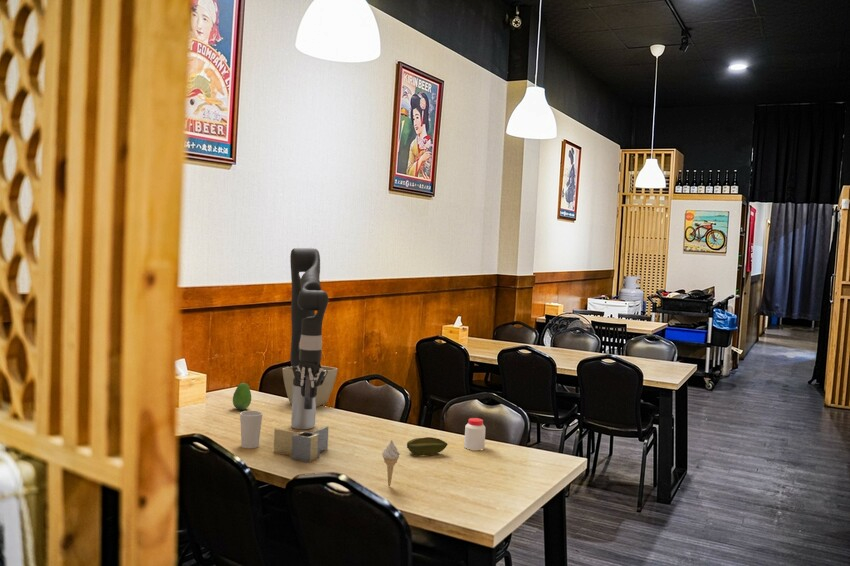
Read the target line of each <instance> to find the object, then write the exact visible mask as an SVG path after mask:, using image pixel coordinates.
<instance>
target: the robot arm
mask: <svg viewBox="0 0 850 566" xmlns="http://www.w3.org/2000/svg"><path fill="white" fill-rule="evenodd" d="M289 257H290V258H289V259H290V260H289V262H290V275H291V276H290V277H291V278H290V279H291V298H290V299H291V300H290V301H291V302H290V303H291V304H290V308H291V309H290V310H291V311H290V315H291V316H290V320H291V340H290V357H289V358H290V367H291V366H292V370H293V373H294V376H295V378H294V379H293V396H292V404H291V422H290V424H291V426H290V427H291V428H292V429H297V430H310V429H313V428H315V426H316V412H317V410H316V409H317V407H316V402H315V397H316V395H317V387H318V386H320V385H322V384H323V382H324V379H325V377H326V375H327V373H328V371H327V370H323V369H322V368H321V366H322V365H321V362H322V351H323V350H322V349H323V338H322V337H323V336H322V332H323V331H322V330H323V329H322V328H323V320H324V317H325V313H326V310H327V308H328V304H329V300H330V299H329V295H328V293H327V291H326V290H322V286H321V281H320V275H321V256H320V251H319V250H318V249H317V248H314V247H295V248H292V250H291V251H290V256H289ZM300 273H303V274H302V275H300ZM300 370H301V372H302V374H301V372H300ZM318 373H319V378H318ZM305 374H306V375H309V377H310V381H311V395H310V397H311V398H313V407H312V409H304V391H305ZM313 377H314V378H313Z"/></svg>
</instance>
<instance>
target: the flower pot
mask: <svg viewBox="0 0 850 566" xmlns="http://www.w3.org/2000/svg"><path fill="white" fill-rule="evenodd" d="M321 368H322V369H323V370H327V371H328V373H327V375H326V377H325V379H324V382H323V384H322V385H320V386H318V387H317V395H316V397H315V402H316V408H317V407H320V406H323V405H326V404H327V403H328V401H329V398H330V396H331V393H332V391H333V388H334V386H335V385H334V384H335V382H336V378H337V375H338V368H337V367H331V366H325V365H321ZM300 372H301V370H300ZM301 374H302V372H301ZM282 378H283V383H284V388H285V392H286V395H287V399H288V402H289V404H290V405H292V396H293V379H294V378H295V376H294V373H293V370H292V366H291V365H290V366H287V367H283V368H282ZM318 378H319V373H318Z"/></svg>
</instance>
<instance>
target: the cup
mask: <svg viewBox="0 0 850 566" xmlns="http://www.w3.org/2000/svg"><path fill="white" fill-rule="evenodd" d="M239 418H240V419H239V420H240V437H241V439H240V441H241V442H240V446H241V447H242V448H243V449H244V448H245V449H256V448H259V446H260V438H261V429H262V420H263V411H259V410H243V411H241V412H240V413H239Z"/></svg>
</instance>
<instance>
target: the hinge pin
mask: <svg viewBox="0 0 850 566" xmlns="http://www.w3.org/2000/svg"><path fill="white" fill-rule="evenodd" d="M313 378H314V377H313ZM310 395H311V381H310V377H309V375H306V374H305V391H304V409H312V407H313V398H311V397H310Z"/></svg>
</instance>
